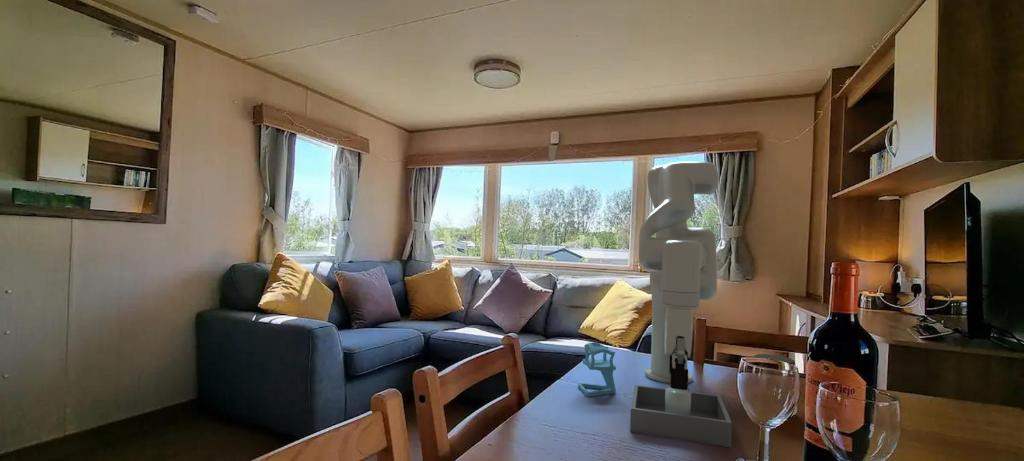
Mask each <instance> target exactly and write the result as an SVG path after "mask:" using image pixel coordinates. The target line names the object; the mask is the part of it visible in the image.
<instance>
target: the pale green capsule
mask: <svg viewBox="0 0 1024 461" xmlns="http://www.w3.org/2000/svg"><path fill="white" fill-rule="evenodd" d="M665 389H666V390H665V412H668V413H676V414H683V415H690V416H691V392H692V391H690V390H688V389H687V390H680V389H672V388H671V386H670V387H666V388H665Z"/></svg>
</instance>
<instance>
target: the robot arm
mask: <svg viewBox="0 0 1024 461" xmlns="http://www.w3.org/2000/svg"><path fill="white" fill-rule="evenodd" d="M718 171H719V170H718V169H717V166H716V165H715V164H714V163H713V162H711V161H674V162H669V163H667V164H661V165H656V166H654V167H652V168H650V169H649V171H648V173H647V182H646V183H647V188H648V194H649V197H650V199H651V202H652V205H653V207H654V209H653V210H651V212H650V213H649V214H647V216H646V217H645V219H644V220H643V222H642V224H641V226H640V228H639V229H640V230H639V234H638V235H639V236H638V261H639V263H640V266H641V267H642V268H643V269H645V270H647V271H650V273H649V285H650V294H651V308H652V310H651V342H650V343H651V348H650V350H651V351H650V367H648V368H646V369H645V370H644V375H645V376H646V377H647V378H648V379H650V380H652V381H656V382H660V383H665V384H670V387H671V388H672V389H680V390H688V389H689V383H691V382H693V381H694V379H693V374H691V373H690V372H689V369H688V358H690V357H691V353H692V343H693V324H694V323H693V322H694V310H697V309H700V301H710V300H713V299H714V298H715V296H716V295H717V290H718V274H717V273H718V272H717V269H718V268H717V263H718V262H717V243H716V241H717V240H716V237H715V235H714V232H713V231H712V230H711V229H710V228H706V227H689V226H688V224H687V222H688V220H690V219H691V218H692V217H693V216H694V214H695V211H696V204H695V203H696V202H695V195H713V194H715V193H716V191H717V190H718V187H719V182H720V181H719V180H720V177H719V172H718ZM654 235H655V237H653V236H654Z"/></svg>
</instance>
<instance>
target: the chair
mask: <svg viewBox="0 0 1024 461" xmlns="http://www.w3.org/2000/svg"><path fill="white" fill-rule="evenodd" d="M584 351H585V358H583V359H582V364H584V365H585V366H586V367H587V368H588V369H589V370H590V371H600V373H601V375H602V377H603V379H604V382H605V384H595V383H586V382H579V383H577V387H578V388H579V390H580V391H581V392H582V393H583V395H584V396H586V397H587V398H589V397H597V396H604V395H613V394H617V389H616V386H615V381H614V380H615V379H614V372H615V371H616V370H617V368H616V367H617V365H615V364H614V363H613V362H614V360H613V359H614V357H615V354H616V351H612V350H610V349H609V346H604V345H603V344H602V343H600V342H599V343H598V342H594V341H593V342H588V343H586V344H585V345H584ZM589 353H590V354H589ZM601 353H603V355H602V359H595V356H596V355H598V354H601ZM607 354H608V355H610V357H609V359H607ZM590 357H591V359H590ZM586 388H587V389H594V391H588V390H587V389H586ZM595 389H598V390H595Z"/></svg>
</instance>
